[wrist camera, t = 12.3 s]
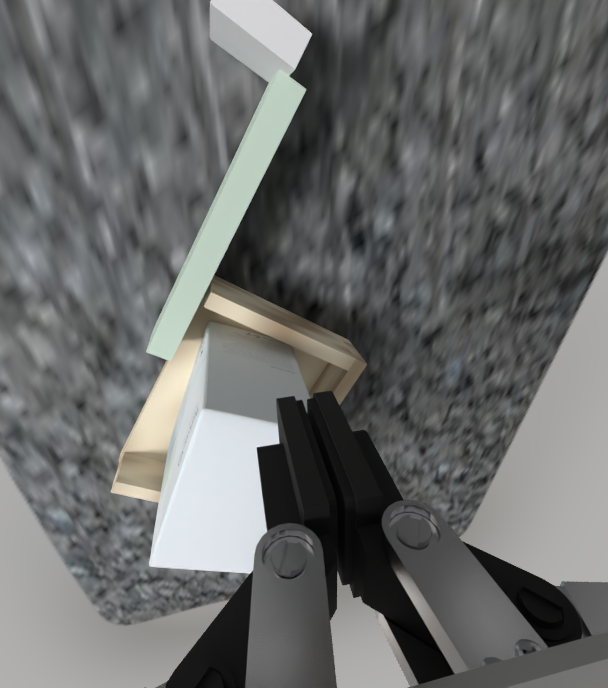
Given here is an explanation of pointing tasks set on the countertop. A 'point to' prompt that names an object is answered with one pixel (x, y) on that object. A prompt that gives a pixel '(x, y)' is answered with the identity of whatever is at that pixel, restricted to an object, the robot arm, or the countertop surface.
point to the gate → (252, 155)
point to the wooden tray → (167, 394)
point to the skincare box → (222, 451)
